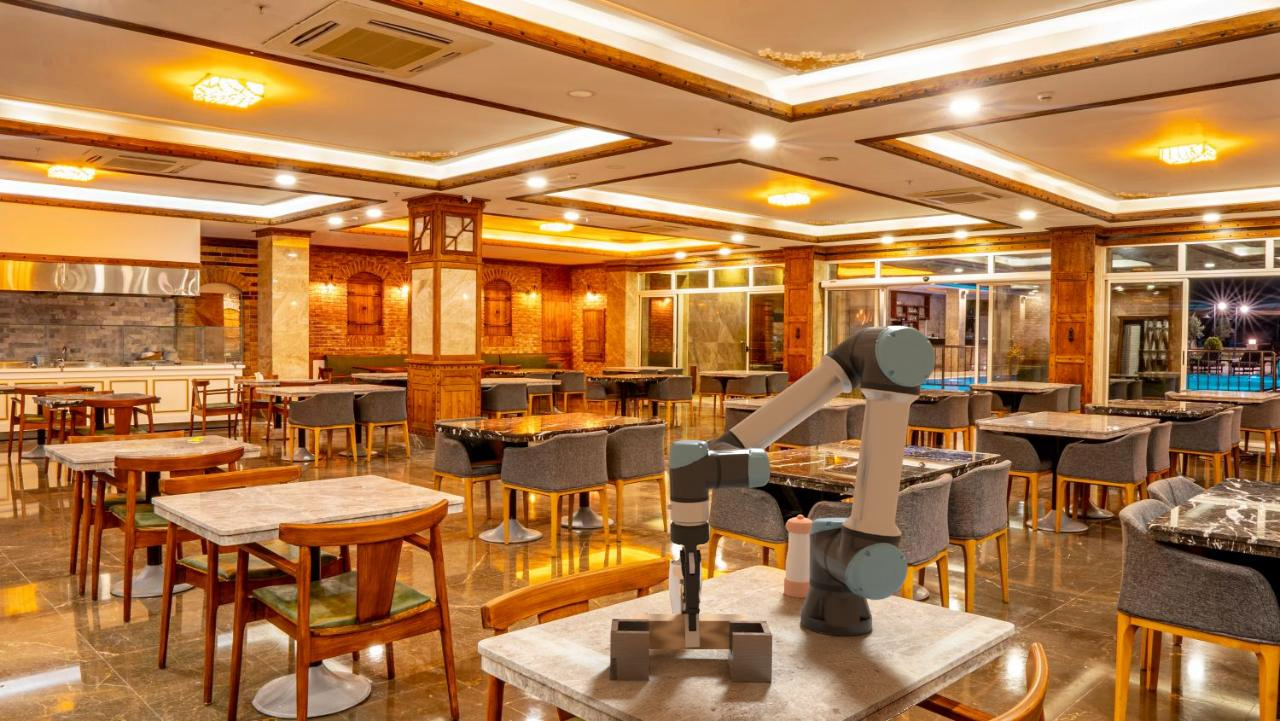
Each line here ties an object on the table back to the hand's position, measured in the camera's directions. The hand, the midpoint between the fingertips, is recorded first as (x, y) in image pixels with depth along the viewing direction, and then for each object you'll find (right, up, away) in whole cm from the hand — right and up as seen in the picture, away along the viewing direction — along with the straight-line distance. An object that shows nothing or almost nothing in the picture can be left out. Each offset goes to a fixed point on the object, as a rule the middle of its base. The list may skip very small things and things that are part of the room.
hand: (691, 641), depth 169 cm
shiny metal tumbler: (-1, -3, +14) cm, 14 cm away
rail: (0, -1, 0) cm, 1 cm away
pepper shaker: (+29, -3, +44) cm, 52 cm away
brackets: (-1, -3, -8) cm, 8 cm away
